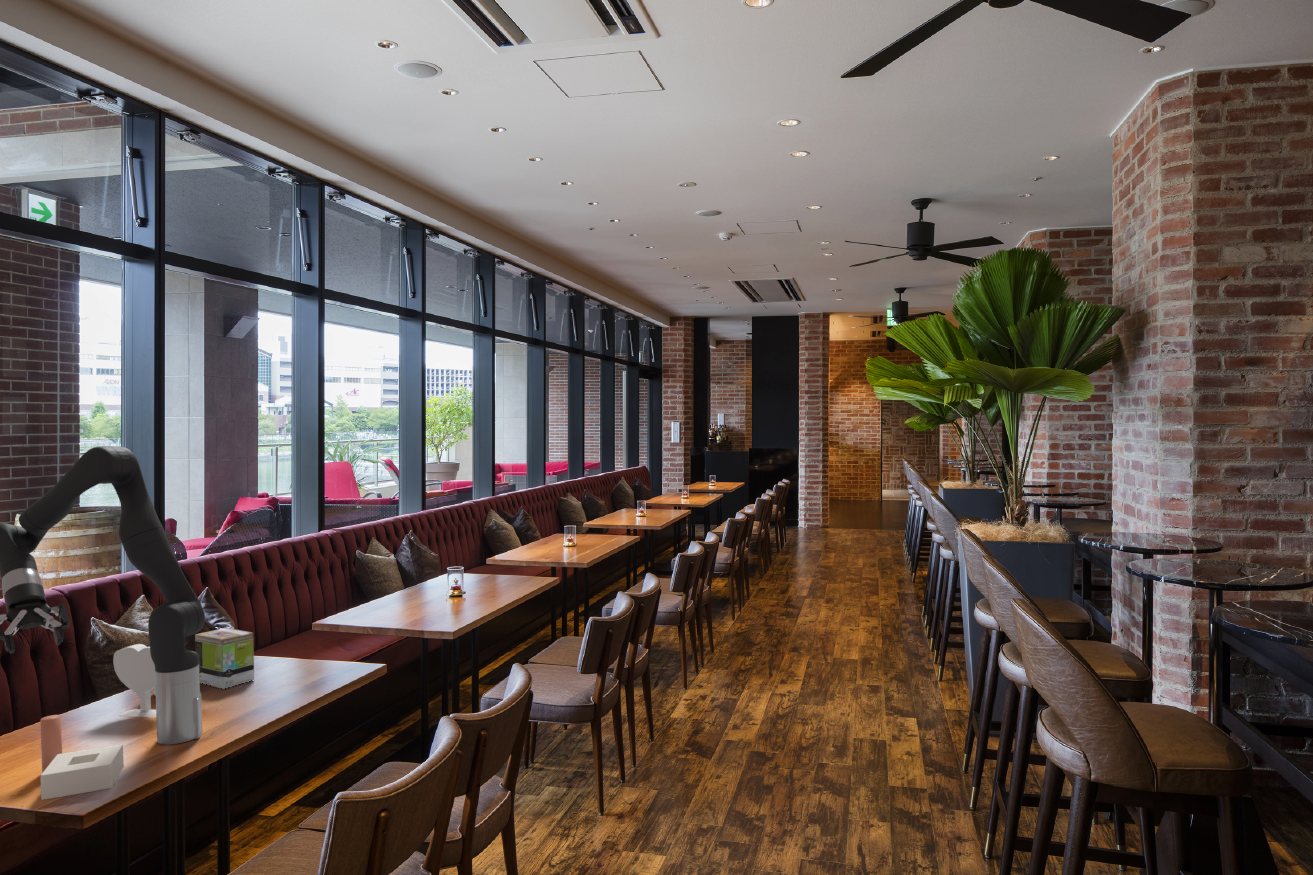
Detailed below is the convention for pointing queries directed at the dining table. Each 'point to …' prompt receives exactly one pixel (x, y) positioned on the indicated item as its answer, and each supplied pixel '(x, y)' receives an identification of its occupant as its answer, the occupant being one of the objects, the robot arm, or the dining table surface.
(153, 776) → the dining table surface
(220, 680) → the tea box
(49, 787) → the block
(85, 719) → the dining table surface
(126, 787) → the dining table surface
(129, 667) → the heart sculpture
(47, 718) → the pin
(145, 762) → the dining table surface
